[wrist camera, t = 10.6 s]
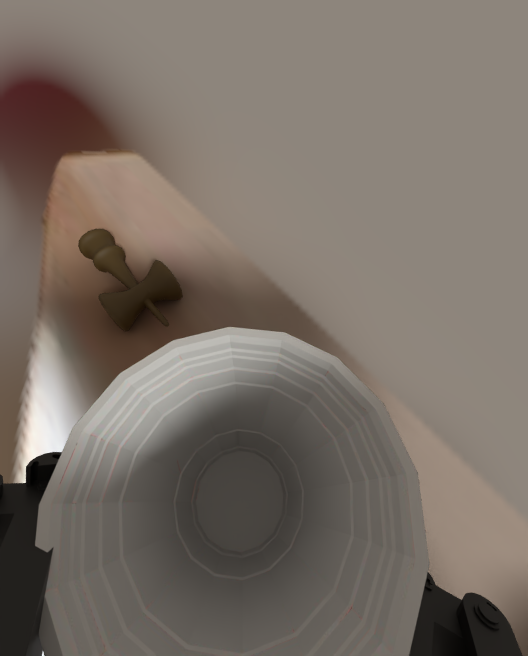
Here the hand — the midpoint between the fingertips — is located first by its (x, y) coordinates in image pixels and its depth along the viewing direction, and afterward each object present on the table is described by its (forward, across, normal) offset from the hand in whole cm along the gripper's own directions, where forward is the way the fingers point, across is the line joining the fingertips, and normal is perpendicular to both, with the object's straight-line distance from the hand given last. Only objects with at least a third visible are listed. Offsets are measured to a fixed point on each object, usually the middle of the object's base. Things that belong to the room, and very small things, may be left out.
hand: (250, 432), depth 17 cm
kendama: (+27, -22, 0) cm, 35 cm away
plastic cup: (+1, 0, -5) cm, 5 cm away
